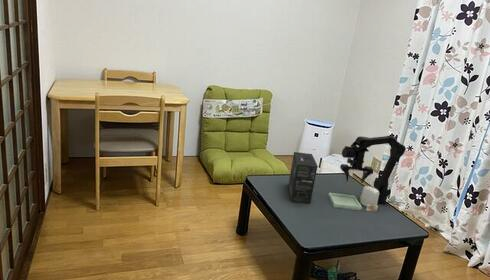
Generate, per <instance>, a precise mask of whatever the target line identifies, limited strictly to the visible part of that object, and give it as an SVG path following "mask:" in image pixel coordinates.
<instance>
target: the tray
mask: <svg viewBox="0 0 490 280" xmlns="http://www.w3.org/2000/svg"><path fill="white" fill-rule="evenodd" d="M328 198H329V201H330V202H331V204H332V207H333V208H336V209H342V210H351V211H362V208H363V207H362V204H361V203H360V201H359V200H358V198H357V197H356V196H355V195H352V194H343V193H335V192H328Z"/></svg>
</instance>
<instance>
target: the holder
mask: <svg viewBox="0 0 490 280" xmlns="http://www.w3.org/2000/svg"><path fill="white" fill-rule="evenodd" d="M361 196H362V194H361V195H360V197H359V200H358V202H360V201H361ZM378 207H379V206H378V205H377V206H375V205H367V206H366V208H365V210H366V212H375V213H376V212H378Z"/></svg>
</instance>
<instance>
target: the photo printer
mask: <svg viewBox="0 0 490 280" xmlns="http://www.w3.org/2000/svg"><path fill="white" fill-rule="evenodd" d="M361 195H362V196H361ZM361 195H360V196H361V201H359V203H360V205H363V206H364V207H367V205H375V206H378V204H377V202H378V197H379V191H378V190H377V189H375V188H374V186H370V185H364V186H363V188H362V192H361Z"/></svg>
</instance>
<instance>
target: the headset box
mask: <svg viewBox="0 0 490 280" xmlns="http://www.w3.org/2000/svg"><path fill="white" fill-rule="evenodd" d="M290 168H291V169H290V173H289V179H288V190H289V191H288V192H289V196H290V201H291V202H295V203H305V204H311V201H312V198H313V192H314V186H315V182H316V177H317V172H318V168H319V166H318V163H317V161H316V160H315V157H314V155H313V154H312V153H305V152H297V151H294V152H293V156H292V163H291V167H290Z"/></svg>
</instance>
